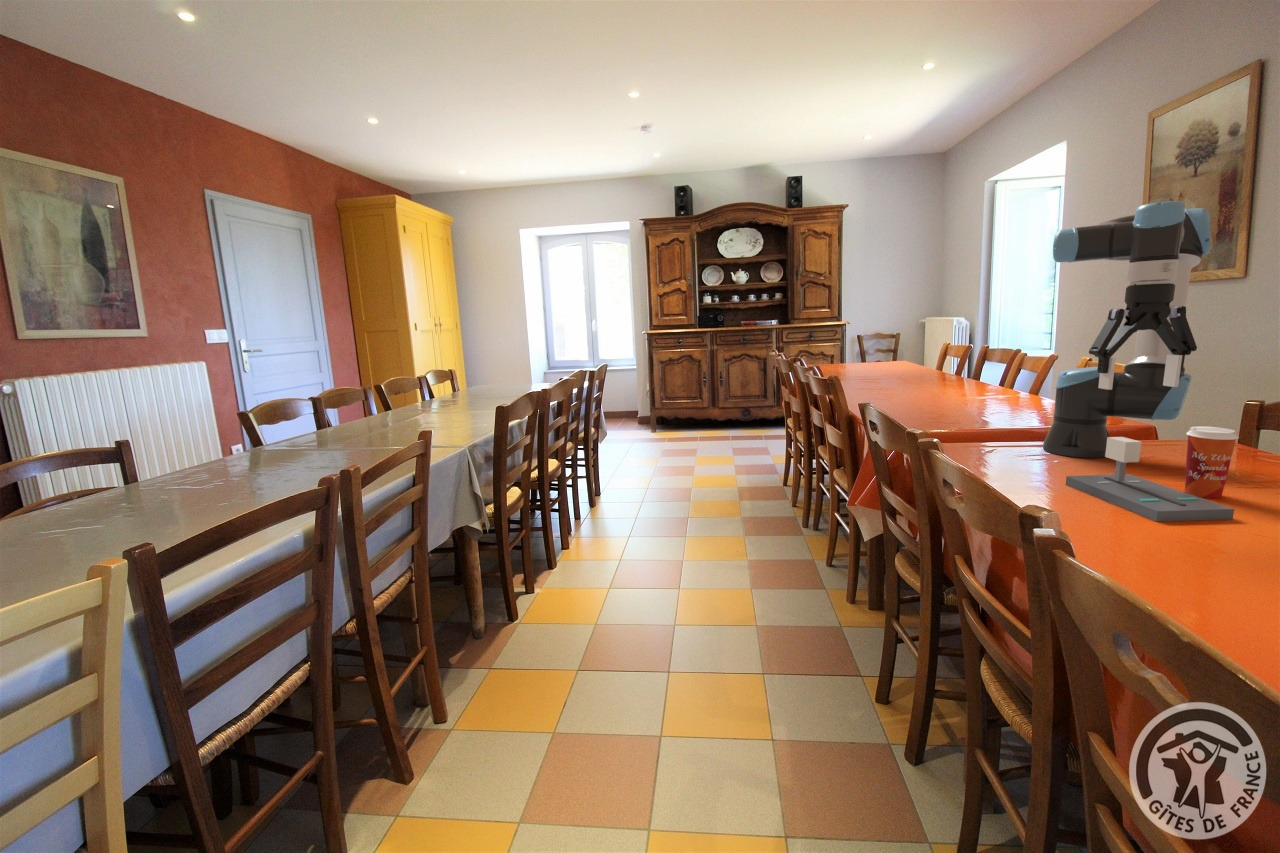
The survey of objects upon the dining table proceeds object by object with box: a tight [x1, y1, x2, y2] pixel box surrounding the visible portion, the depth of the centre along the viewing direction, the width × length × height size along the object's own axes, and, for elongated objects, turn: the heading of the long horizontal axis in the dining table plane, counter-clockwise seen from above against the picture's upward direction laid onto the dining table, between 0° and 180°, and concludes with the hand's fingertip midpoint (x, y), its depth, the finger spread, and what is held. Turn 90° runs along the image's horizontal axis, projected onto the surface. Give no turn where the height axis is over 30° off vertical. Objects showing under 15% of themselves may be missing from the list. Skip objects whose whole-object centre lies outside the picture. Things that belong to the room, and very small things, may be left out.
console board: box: [1065, 473, 1235, 522], centre depth 119 cm, size 24×14×2 cm, turn 179°
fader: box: [1104, 436, 1142, 481], centre depth 124 cm, size 5×3×9 cm, turn 179°
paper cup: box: [1184, 426, 1240, 499], centre depth 120 cm, size 8×8×14 cm
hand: (1137, 387), depth 120 cm, fingers open, 13 cm apart
